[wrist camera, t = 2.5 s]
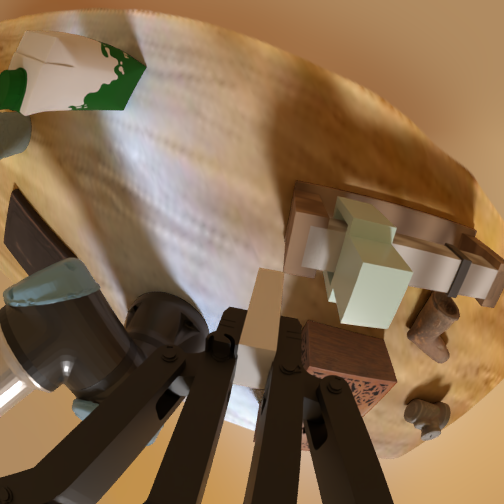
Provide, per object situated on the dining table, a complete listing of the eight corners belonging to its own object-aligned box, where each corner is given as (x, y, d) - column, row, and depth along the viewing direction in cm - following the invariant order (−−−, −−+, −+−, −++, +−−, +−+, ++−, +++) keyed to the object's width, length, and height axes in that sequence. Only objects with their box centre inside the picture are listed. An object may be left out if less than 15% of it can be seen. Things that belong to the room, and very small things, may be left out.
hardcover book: (64, 303, 49) (58, 308, 47) (9, 239, 45) (3, 242, 43) (80, 258, 43) (73, 263, 41) (19, 187, 39) (11, 190, 37)
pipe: (437, 377, 37) (480, 350, 32) (398, 340, 34) (452, 304, 29) (431, 352, 42) (471, 325, 37) (392, 312, 40) (439, 277, 34)
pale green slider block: (321, 262, 31) (334, 338, 19) (337, 196, 27) (369, 240, 16) (352, 268, 31) (380, 343, 19) (371, 204, 27) (420, 252, 15)
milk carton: (88, 98, 30) (-19, 102, 12) (114, 47, 27) (12, 21, 9) (125, 118, 31) (9, 126, 13) (155, 62, 28) (48, 26, 10)
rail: (284, 239, 36) (280, 283, 25) (295, 180, 32) (298, 201, 22) (456, 275, 34) (491, 315, 23) (474, 229, 30) (517, 260, 20)
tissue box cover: (307, 318, 41) (309, 365, 32) (383, 338, 41) (397, 382, 31) (259, 403, 52) (253, 441, 43) (319, 415, 52) (320, 452, 42)
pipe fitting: (449, 397, 45) (455, 430, 36) (426, 413, 49) (429, 445, 40) (422, 386, 46) (427, 423, 37) (398, 404, 50) (400, 439, 41)
